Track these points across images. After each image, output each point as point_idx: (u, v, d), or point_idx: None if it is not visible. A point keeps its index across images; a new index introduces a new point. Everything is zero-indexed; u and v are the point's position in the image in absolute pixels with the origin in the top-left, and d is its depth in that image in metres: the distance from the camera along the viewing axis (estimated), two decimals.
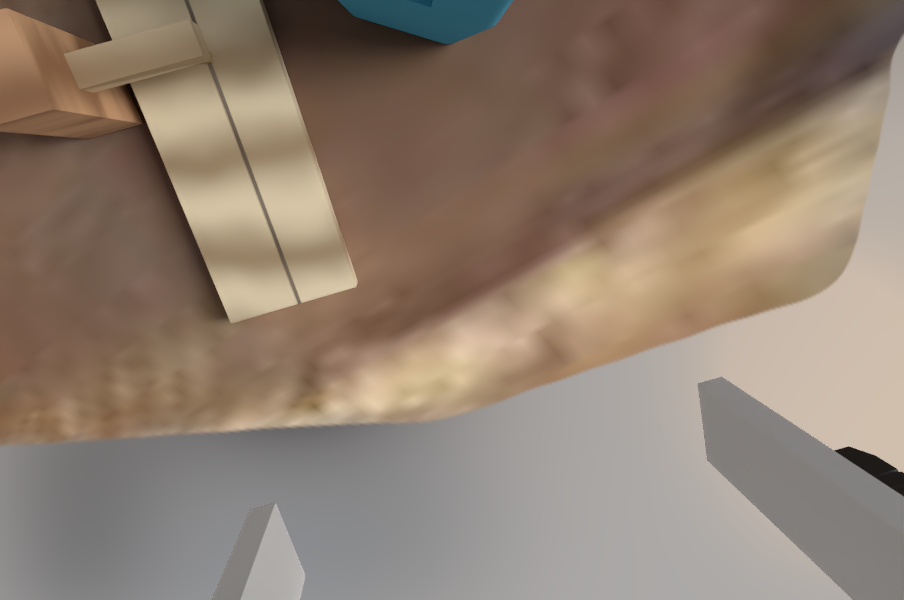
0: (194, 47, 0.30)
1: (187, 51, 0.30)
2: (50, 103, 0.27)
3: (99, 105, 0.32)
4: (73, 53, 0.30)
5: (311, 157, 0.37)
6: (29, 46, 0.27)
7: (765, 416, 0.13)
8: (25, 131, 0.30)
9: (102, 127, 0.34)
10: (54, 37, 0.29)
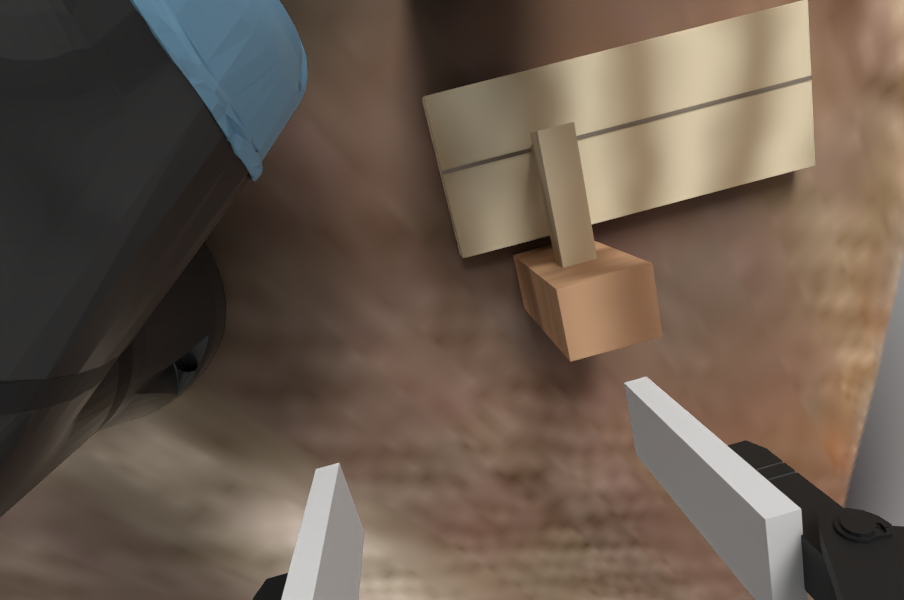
0: (565, 130, 0.27)
1: (569, 138, 0.27)
2: (646, 264, 0.26)
3: (600, 250, 0.30)
4: (563, 257, 0.29)
5: (649, 40, 0.31)
6: (586, 278, 0.26)
7: (674, 413, 0.14)
8: None
9: None
10: (549, 272, 0.28)
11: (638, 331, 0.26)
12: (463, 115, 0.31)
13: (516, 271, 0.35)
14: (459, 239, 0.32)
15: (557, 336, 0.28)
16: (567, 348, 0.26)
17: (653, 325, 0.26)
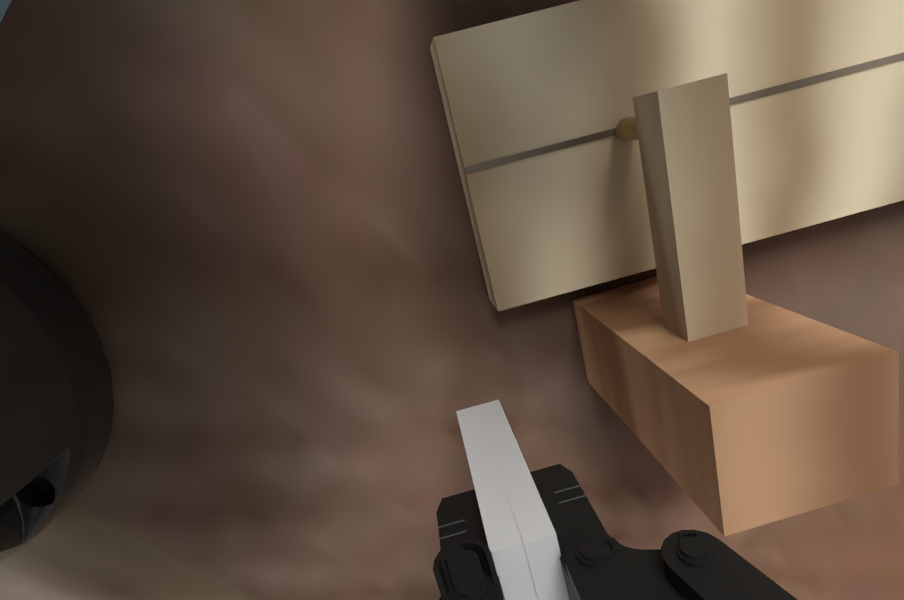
0: (710, 89, 0.14)
1: (715, 105, 0.14)
2: (885, 354, 0.13)
3: None
4: (690, 325, 0.16)
5: None
6: (763, 379, 0.13)
7: (503, 437, 0.15)
8: None
9: None
10: (666, 351, 0.16)
11: (855, 477, 0.14)
12: (502, 72, 0.18)
13: (577, 325, 0.22)
14: (492, 281, 0.20)
15: (685, 473, 0.15)
16: (719, 512, 0.14)
17: (884, 465, 0.14)
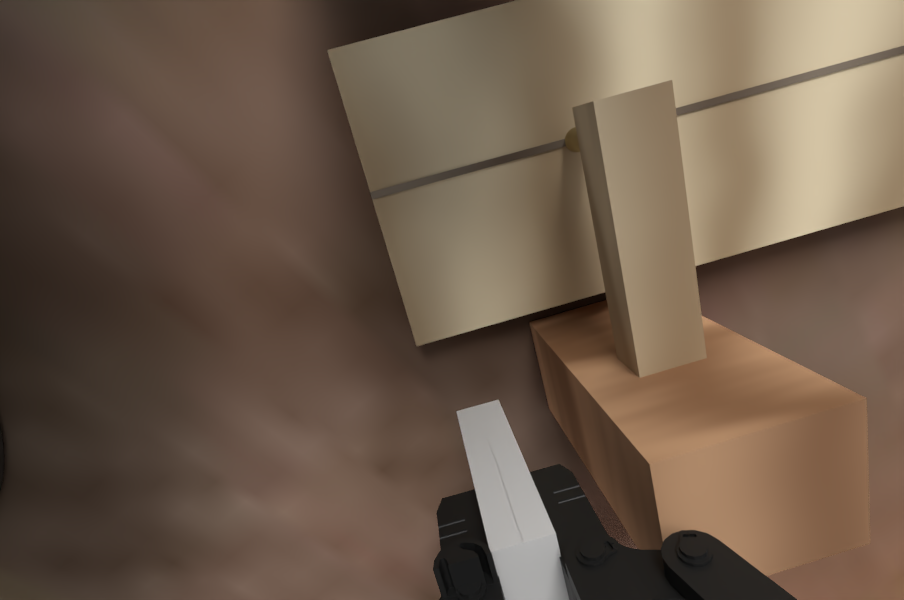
0: (653, 98, 0.12)
1: (660, 117, 0.13)
2: (851, 401, 0.11)
3: None
4: (641, 359, 0.14)
5: None
6: (713, 430, 0.11)
7: (503, 437, 0.15)
8: None
9: None
10: (614, 389, 0.14)
11: (821, 537, 0.12)
12: (406, 87, 0.16)
13: (535, 349, 0.21)
14: (409, 313, 0.18)
15: (635, 527, 0.13)
16: None
17: (854, 523, 0.12)
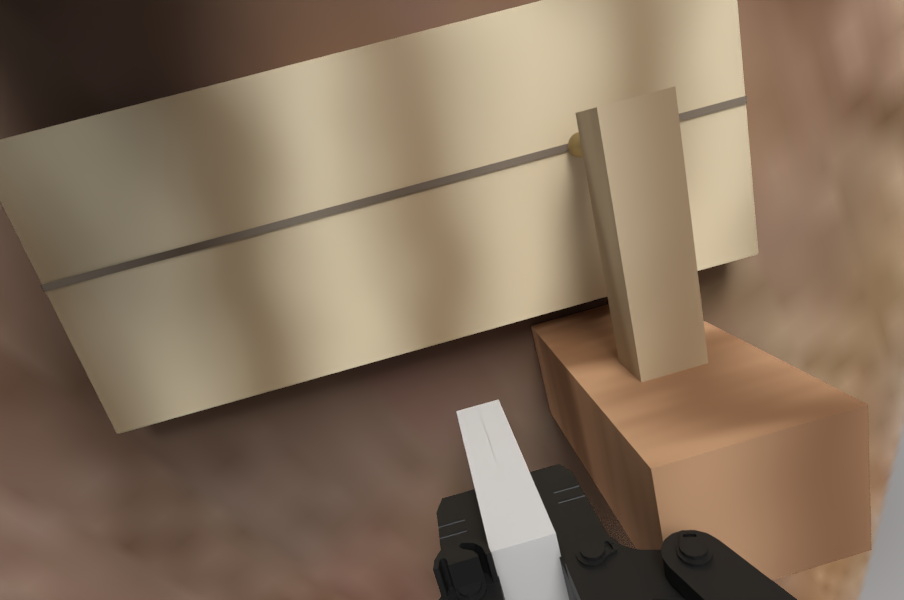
0: (657, 104, 0.12)
1: (663, 123, 0.13)
2: (852, 407, 0.11)
3: None
4: (643, 364, 0.14)
5: (425, 32, 0.16)
6: (714, 435, 0.11)
7: (503, 437, 0.15)
8: None
9: None
10: (616, 393, 0.14)
11: (822, 543, 0.12)
12: (65, 181, 0.16)
13: (537, 353, 0.21)
14: (103, 402, 0.18)
15: (636, 532, 0.13)
16: None
17: (855, 529, 0.12)
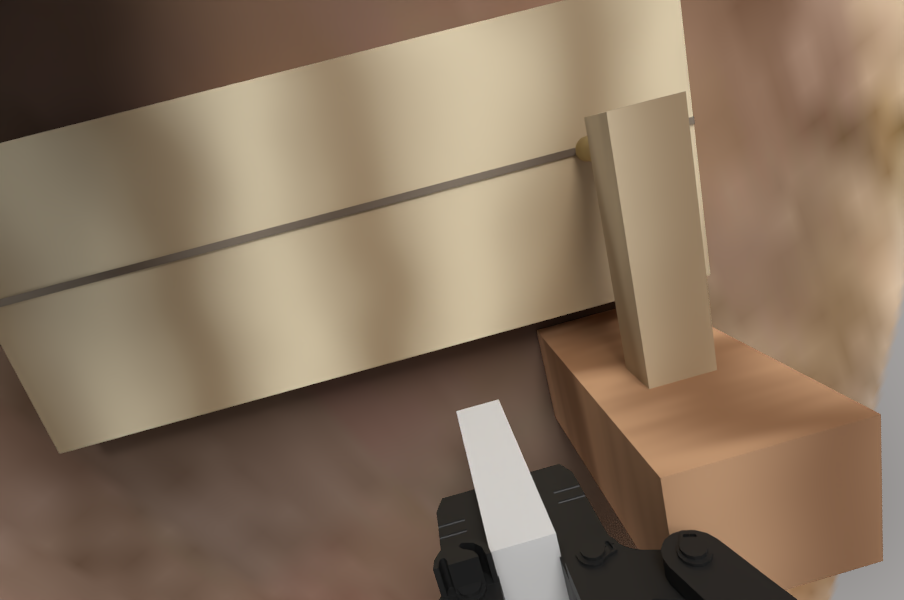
0: (666, 109, 0.12)
1: (673, 128, 0.12)
2: (865, 417, 0.11)
3: None
4: (651, 370, 0.14)
5: (364, 53, 0.16)
6: (724, 444, 0.11)
7: (503, 437, 0.15)
8: None
9: None
10: (623, 400, 0.14)
11: (833, 554, 0.12)
12: (0, 202, 0.16)
13: (542, 357, 0.21)
14: (45, 422, 0.18)
15: (643, 541, 0.13)
16: None
17: (866, 540, 0.12)
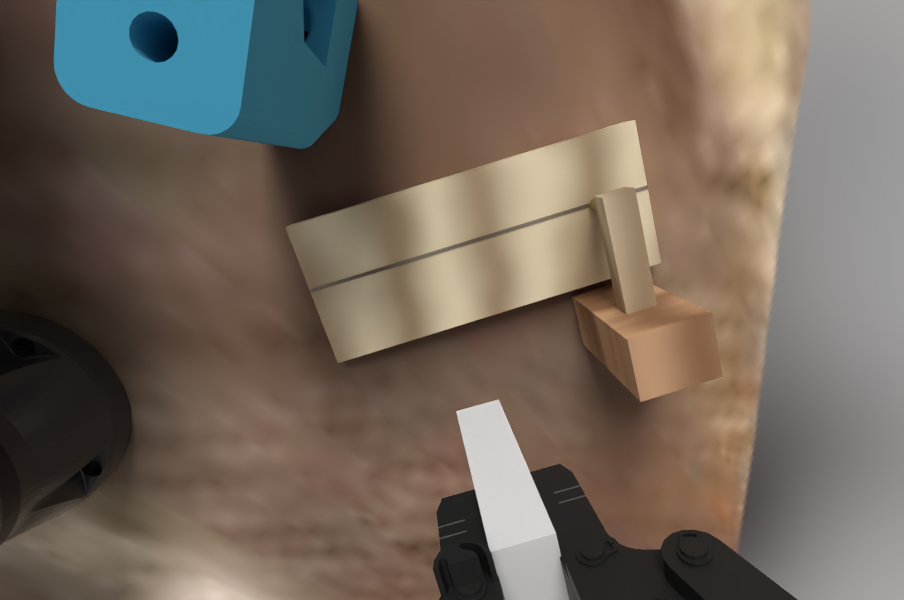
0: (627, 195, 0.30)
1: (630, 202, 0.30)
2: (706, 315, 0.29)
3: (658, 295, 0.33)
4: (627, 306, 0.32)
5: (489, 165, 0.34)
6: (653, 328, 0.29)
7: (503, 437, 0.15)
8: None
9: None
10: (615, 319, 0.32)
11: (700, 373, 0.30)
12: (323, 241, 0.34)
13: (575, 310, 0.39)
14: (332, 347, 0.36)
15: (625, 377, 0.31)
16: (637, 390, 0.30)
17: (714, 367, 0.30)
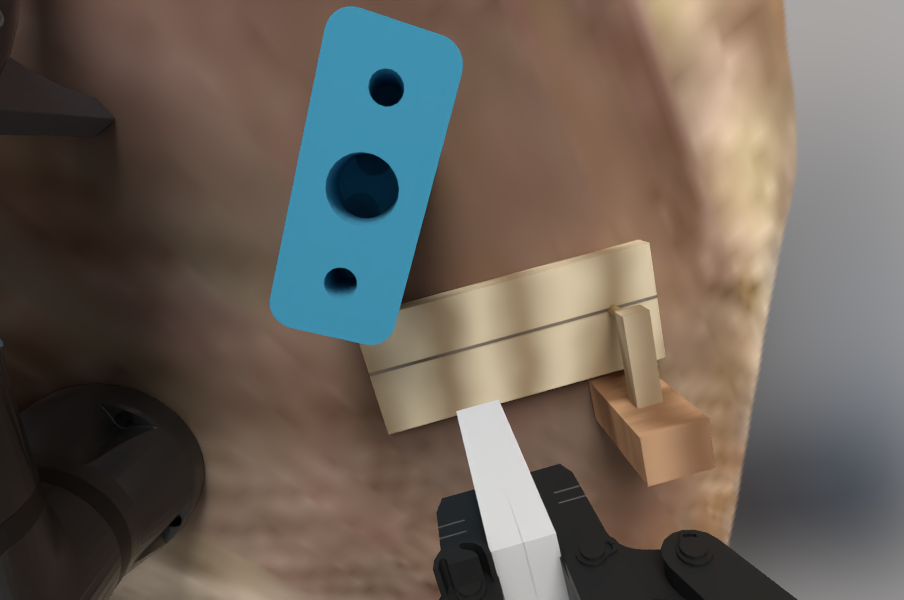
0: (643, 315, 0.37)
1: (645, 321, 0.37)
2: (704, 419, 0.35)
3: (663, 390, 0.40)
4: (638, 402, 0.38)
5: (526, 276, 0.40)
6: (660, 428, 0.36)
7: (503, 437, 0.15)
8: None
9: None
10: (628, 413, 0.38)
11: (697, 464, 0.36)
12: None
13: (590, 391, 0.45)
14: (385, 421, 0.42)
15: (635, 463, 0.38)
16: (646, 477, 0.36)
17: (708, 460, 0.36)
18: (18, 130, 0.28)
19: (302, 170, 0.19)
